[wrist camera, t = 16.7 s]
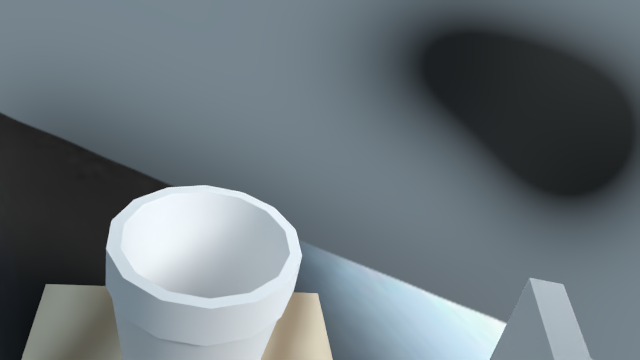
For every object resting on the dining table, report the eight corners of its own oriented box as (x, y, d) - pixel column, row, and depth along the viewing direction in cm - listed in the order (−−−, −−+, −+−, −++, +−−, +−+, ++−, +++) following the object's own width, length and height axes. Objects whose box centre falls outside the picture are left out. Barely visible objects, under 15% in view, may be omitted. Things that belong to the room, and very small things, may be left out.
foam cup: (114, 500, 30) (119, 322, 23) (95, 360, 37) (95, 191, 30) (284, 452, 34) (331, 290, 27) (239, 334, 41) (267, 181, 34)
